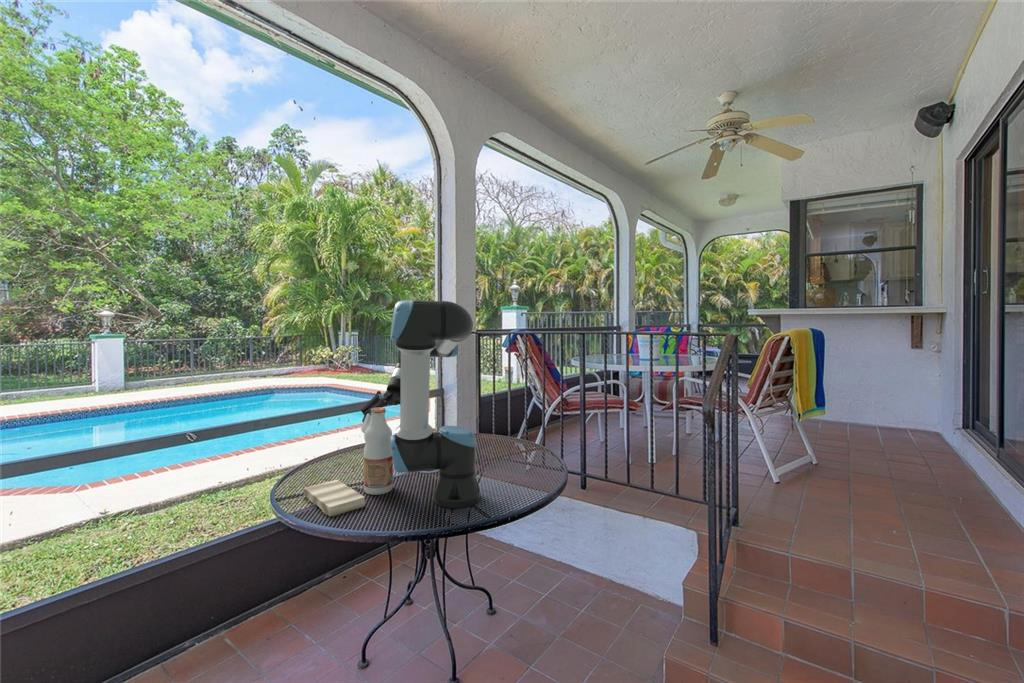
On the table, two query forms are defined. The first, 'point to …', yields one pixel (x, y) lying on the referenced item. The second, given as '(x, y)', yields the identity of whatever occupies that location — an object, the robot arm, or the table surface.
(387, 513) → the table surface
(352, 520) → the table surface
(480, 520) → the table surface
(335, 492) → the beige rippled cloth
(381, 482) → the fruit juice
